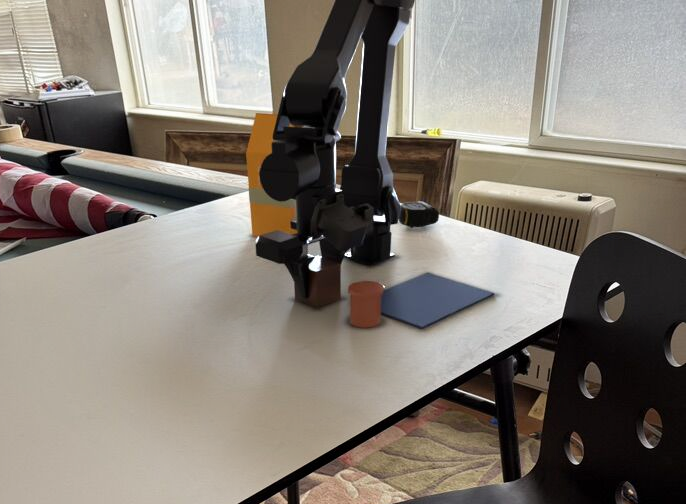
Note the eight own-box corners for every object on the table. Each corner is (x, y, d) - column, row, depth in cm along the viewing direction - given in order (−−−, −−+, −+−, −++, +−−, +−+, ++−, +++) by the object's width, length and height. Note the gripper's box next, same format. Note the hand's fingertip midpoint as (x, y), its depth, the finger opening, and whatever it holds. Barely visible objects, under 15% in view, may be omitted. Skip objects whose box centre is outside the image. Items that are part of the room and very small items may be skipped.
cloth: (354, 304, 104) (354, 302, 104) (427, 274, 113) (427, 272, 113) (421, 329, 96) (421, 327, 96) (494, 294, 105) (494, 293, 105)
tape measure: (439, 228, 131) (441, 207, 129) (406, 232, 130) (407, 211, 128) (423, 218, 137) (425, 198, 134) (391, 222, 135) (392, 202, 133)
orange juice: (291, 241, 128) (286, 119, 115) (251, 235, 132) (242, 116, 119) (312, 230, 133) (309, 111, 121) (273, 224, 137) (266, 109, 124)
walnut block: (294, 299, 106) (293, 263, 103) (318, 290, 109) (317, 255, 105) (317, 308, 103) (316, 271, 100) (340, 299, 106) (340, 262, 102)
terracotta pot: (340, 321, 99) (340, 287, 96) (364, 311, 102) (365, 278, 99) (365, 331, 96) (366, 296, 93) (390, 321, 99) (391, 286, 96)
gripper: (305, 208, 86) (308, 326, 96) (404, 179, 96) (398, 289, 105) (248, 192, 93) (257, 305, 102) (347, 167, 102) (346, 272, 112)
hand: (317, 292), depth 105 cm, fingers closed on walnut block, 5 cm apart
